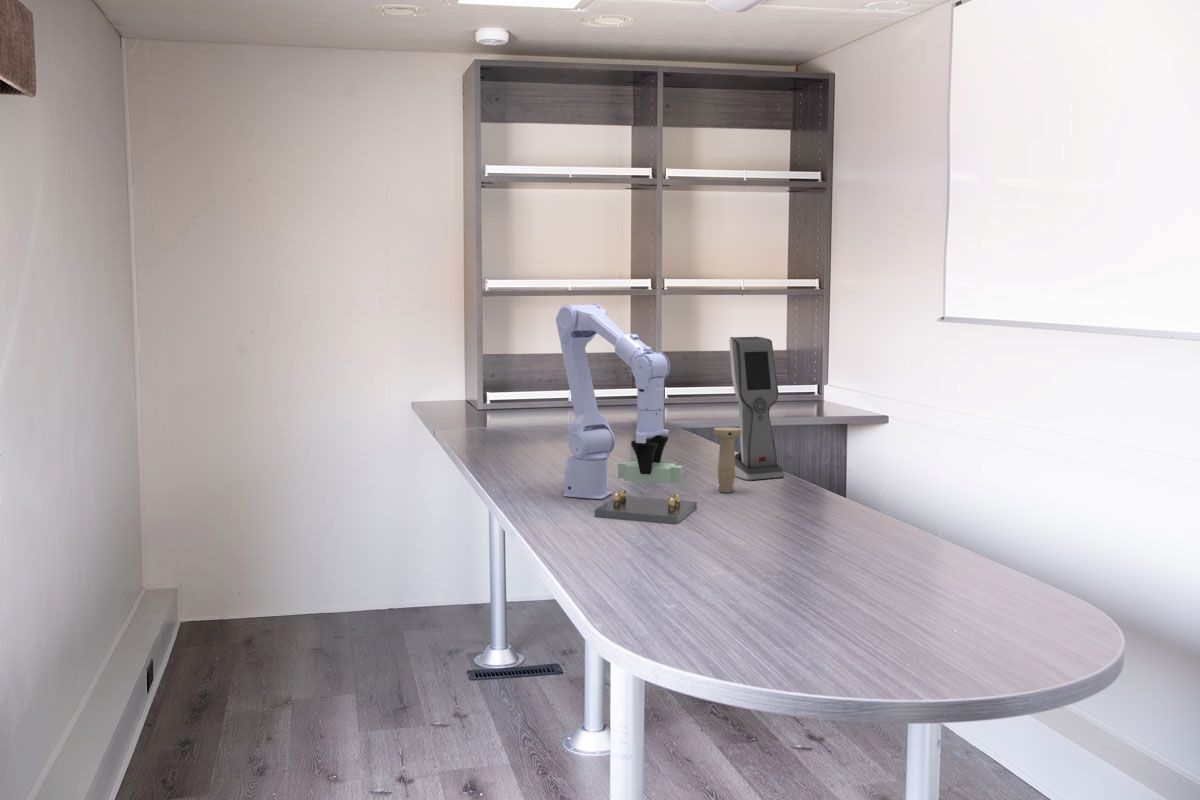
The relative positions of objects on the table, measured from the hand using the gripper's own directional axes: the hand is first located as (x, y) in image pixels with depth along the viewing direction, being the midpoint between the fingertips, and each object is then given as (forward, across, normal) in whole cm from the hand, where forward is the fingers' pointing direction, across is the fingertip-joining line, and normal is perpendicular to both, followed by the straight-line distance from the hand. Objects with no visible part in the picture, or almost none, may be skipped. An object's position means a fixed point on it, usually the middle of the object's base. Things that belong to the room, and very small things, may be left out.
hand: (649, 471), depth 237 cm
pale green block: (+2, 0, 0) cm, 2 cm away
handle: (+9, +25, -12) cm, 29 cm away
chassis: (+8, -2, 0) cm, 9 cm away
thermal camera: (+9, +48, -14) cm, 51 cm away
